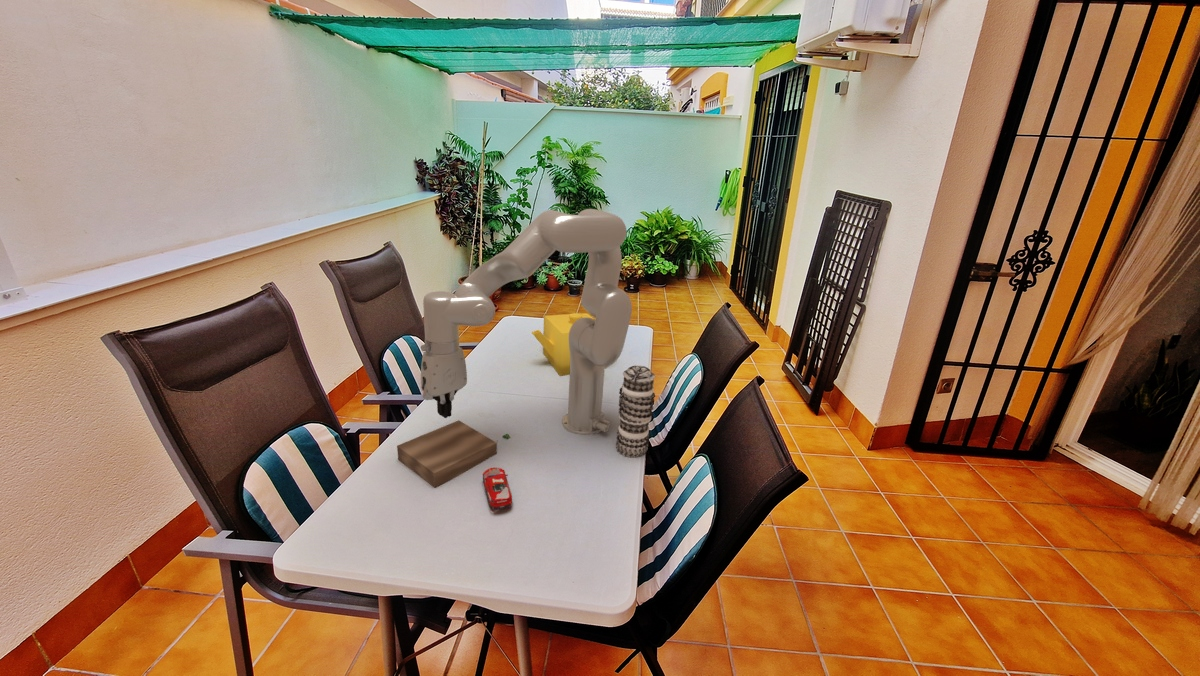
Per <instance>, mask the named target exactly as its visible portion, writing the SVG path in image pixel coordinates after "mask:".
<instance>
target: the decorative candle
mask: <svg viewBox="0 0 1200 676" xmlns="http://www.w3.org/2000/svg"><path fill="white" fill-rule="evenodd" d="M622 375H623V382H622V384H621V387H620V388H619V392H618V394H620V395H619V397H618V407H619V408H618V418H619V424H618V429H617V432H616V442H615V449H617V450H616V452H617V453H618V452H619V453H618V455H620V456H621V455H622V456H623V457H624V458H625V457H628V458H629V459H631V458H632V457H633V458H635V459H637V457H639V458H640V457H642V456H644V455H645V453H647V451H648V449H649V448H648V447H649V442H650V439H649V438H650V433H649V431H650V427H649V425H650V422H651V420H652V415H653V410H654V406H653V405H654V404H655V397H656V394H655V392H654V388H655V387H654V380H655V378H656V375H655V374H654V373H653V372H652V371H651V369H649V367H646V366H644V365H643V366H642V365H632V366H630V367H628V368H627V369H626V370H624V371H623V372H622ZM641 455H642V456H641Z"/></svg>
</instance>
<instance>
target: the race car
mask: <svg viewBox="0 0 1200 676" xmlns="http://www.w3.org/2000/svg"><path fill="white" fill-rule="evenodd" d="M482 481H483V486H484V489H485V493H486V497H487V500H488V501H487V502H488V506H489V507H490V508H491V509H492V510H495V511H496V510H500V509H501V510H502V509H506V508H509V507H511V506H512V505H513V494H512V491H511V488H510V484H509V481H508V474H507V473H506V471H505V470H504V469H503V468H500V467H490V468H487V469H486V470H485V471H483V473H482Z"/></svg>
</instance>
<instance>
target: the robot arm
mask: <svg viewBox="0 0 1200 676" xmlns="http://www.w3.org/2000/svg"><path fill="white" fill-rule="evenodd" d="M627 234H628V233H627V226H626V224H625V222H624V220H623V219H622V218H621V217H619V216H618V215H616V214H613V213H610V212H606V211H603V210H600V209H595V208H586V209H583V210H581V211H580V212H579V213H578V214H570V213H565V212H562V211H558V210H554V209H548V210H544V211H543V212H541V213H540V214H539V215H538V216H536V218H534V220H532V222H531V223H529V225H528V226H527V227H525V229H523V231H522V232H521V233H520V234H519V235H518V236H516V238H514V240H513V241H512V242H510V244H509V245H508V246H507V247H506V248H505V249H503V251H500V252H498V253H497V254H495V255H494V256H493V257H490V258H489V259H488V260H487V261H486V262H484V263H482V264H481V265H479V266H477V268H476V269H475V270H473V272H472V273H470V274H469V276H467V277H466V279H464V280H463V281H462V282H461V283H460V285H459V286H458V287H457V288H456V290H455V291H454V293H453V292H449V291H441V290H439V291H431V292H428V293H426V294H425V295H424V297H423V302H422V305H423V324H424V327H423V329H424V344H422V345H420V351H421V352H423V354H422V359H421V363H420V365H421V366H420V388H421V391H423V393H422V399H423V400H425V401H434V400H435V401H436V405H437V407H436V408H437V409H436V410H437V414H439V416H441V417H443V418H444V419H447V418H448V417H449V418H450V417H452V410H453V408H452V407H453V404H452V401H454V400H455V396H456V394H457V393H458V392H459V391H460V390H462V389H463V388H465V386H466V385H467V383H468V372H467V364H466V358H465V353H464V350H463V347H461V346H460V330H459V329H460V326H468V327H483V326H486V325H488V324H489V323H491V322H492V320H493V319H494V317H495V315H496V307H495V304H494V302H493V301H492V299H491V298H490V297H491V296H492V295H493V294H494V293H495V292H496V291H497V290H498V289H500V288H501V287H503V286H504V285H506V284H508V283H510V282H514V281H517V280H519V281H520V280H524V279H527V278H529V277H531V276H532V275H533V274H534V273H535V272H536V271H537V270H538V269H539V268H540V267H541V266H542V265H543V264H544V263H545V262H546V261H547V260H548V259H549V257H551V256H552V255H553V254H554V253H555V252H556V251H558V252H560V253H571V254H575V253H576V254H577V253H578V254H582V253H588V265H587V269H586V270H587V271H586V274H585V279H584V284H583V288H582V293H581V298H580V301H581V303H580V304H581V306H582V308H583V310H585V312H586V313H587V314H589V315H590V316H591V317H593V318H594V319H592V318H581V319H579V320H577V321H576V322H574V324H573V325H572V326H571V328H570V331H569V350H570V375H569V381H568V383H569V384H568V400H567V401H568V403H567V404H568V405H567V413H566V414H565V415H564V416H563V417H562V419H561V424H562V427H563V429H565V430H566V431H567V432H569V433H570V434H574V435H579V436H589V435H596V434H599V433H600V432H604V433H607V432H609V430H610V426H611V421H608V420H606V419H605V412H603V411H602V407H603V394H604V382H605V371H606V369H605V367H606V368H607V367H610V366H611V365H613V364H615V363H616V362H617V361H618V359H619V358H620V356H621V354H622V351H623V349H624V347H625V346H624V345H625V342H626V338H627V334H628V331H629V326H630V322H631V317H632V311H633V308H632V307H633V306H632V300H631V298H630V296H629V294H628V293H627V292H625V291H624V290H623V289H622V288H619V282H620V281H619V280H620V275H621V274H620V273H621V269H622V262H623V261H622V260H623V259H622V250H621V246H622V245H623V243H624V241H625V240H626V237H627Z"/></svg>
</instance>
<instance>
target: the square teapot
mask: <svg viewBox="0 0 1200 676" xmlns="http://www.w3.org/2000/svg"><path fill="white" fill-rule="evenodd" d="M581 318H592V319H595V317H594V316H592V315H591V314H589V313H588V312H584V313H583V312H582V313H578V312H577V313H576V312H573V313H572V312H571V313H567V314H552V315H544V316H543V333H542V331H541V330H540V329H536V330H534V331H531V334H532V335H533V337H535V338H536V340H537V341H538V342H539V344H540V345H541V346H542V354H543V357H545V359H546V360H547V361H548V363H549V364H550V365H551V366H552V368H553V369H554V370H555V372H556V373H557V374H558V376H559V377H563V376H570V350H569V331H570V328H571V326H572V325H573V324H574V322H576V321H577V320H579V319H581ZM606 369H607V366H606V367H605V370H606Z"/></svg>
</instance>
